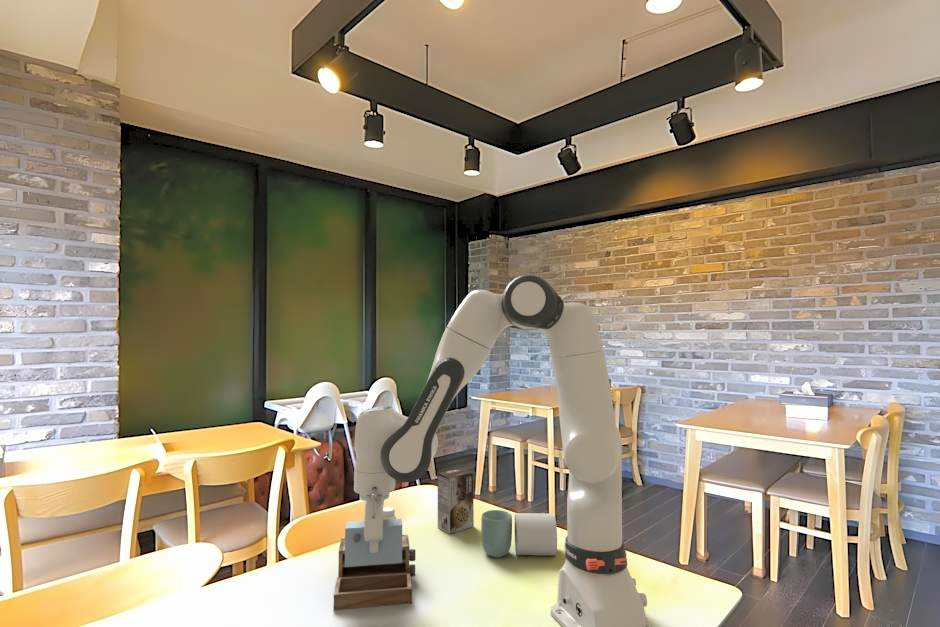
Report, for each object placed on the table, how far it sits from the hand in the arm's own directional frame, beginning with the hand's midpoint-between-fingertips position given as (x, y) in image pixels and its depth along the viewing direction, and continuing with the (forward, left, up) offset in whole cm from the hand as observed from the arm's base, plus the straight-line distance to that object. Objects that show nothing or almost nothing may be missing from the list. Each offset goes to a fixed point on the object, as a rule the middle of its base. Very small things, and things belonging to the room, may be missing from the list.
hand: (374, 546), depth 110 cm
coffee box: (+37, -23, -11) cm, 45 cm away
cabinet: (+5, -1, -11) cm, 12 cm away
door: (0, 0, -3) cm, 3 cm away
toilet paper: (+16, -41, -11) cm, 45 cm away
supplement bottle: (+31, -3, -11) cm, 33 cm away
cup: (+17, -31, -11) cm, 37 cm away
